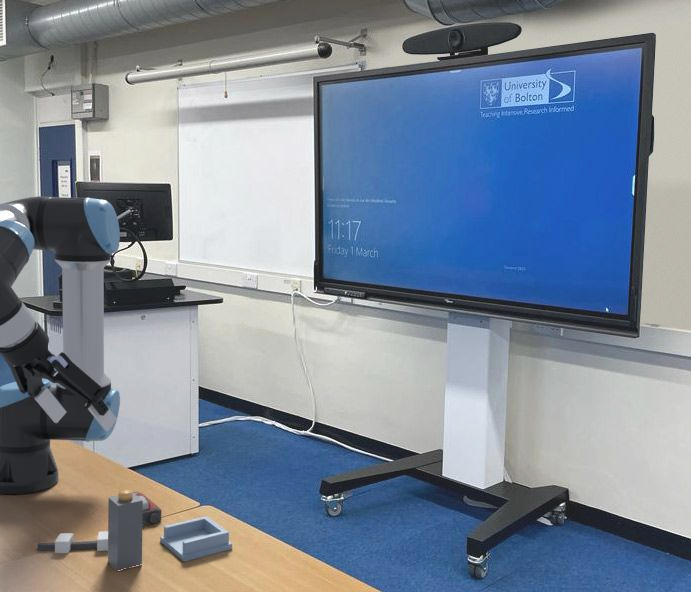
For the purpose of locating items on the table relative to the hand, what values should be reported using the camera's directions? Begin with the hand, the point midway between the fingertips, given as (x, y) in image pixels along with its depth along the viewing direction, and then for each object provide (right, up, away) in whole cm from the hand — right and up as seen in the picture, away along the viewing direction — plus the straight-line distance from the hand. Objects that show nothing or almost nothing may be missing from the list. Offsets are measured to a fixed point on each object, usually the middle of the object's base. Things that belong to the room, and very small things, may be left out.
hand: (85, 421), depth 137 cm
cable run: (-2, -24, +6) cm, 25 cm away
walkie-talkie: (+4, -24, +19) cm, 31 cm away
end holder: (+18, -25, +9) cm, 32 cm away
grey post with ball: (+7, -25, 0) cm, 26 cm away
